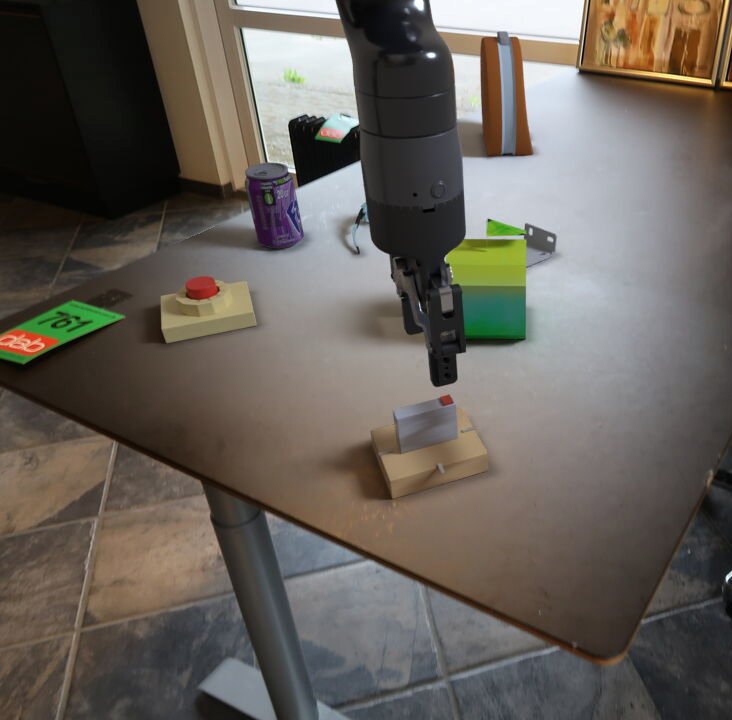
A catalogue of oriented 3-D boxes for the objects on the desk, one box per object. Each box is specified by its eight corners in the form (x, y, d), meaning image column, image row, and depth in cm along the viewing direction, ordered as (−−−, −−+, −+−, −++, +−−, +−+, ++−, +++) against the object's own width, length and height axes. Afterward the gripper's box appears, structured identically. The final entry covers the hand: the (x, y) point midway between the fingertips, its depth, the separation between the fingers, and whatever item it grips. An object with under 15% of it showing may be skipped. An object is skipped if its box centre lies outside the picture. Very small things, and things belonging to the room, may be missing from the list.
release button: (189, 303, 91) (185, 291, 90) (188, 290, 93) (184, 279, 92) (219, 298, 92) (215, 286, 91) (217, 285, 94) (213, 273, 93)
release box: (166, 343, 89) (156, 317, 87) (165, 309, 96) (156, 284, 94) (257, 325, 93) (250, 299, 91) (249, 294, 100) (243, 269, 97)
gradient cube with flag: (525, 347, 90) (526, 240, 81) (448, 346, 90) (441, 239, 81) (525, 303, 99) (526, 203, 90) (455, 303, 99) (449, 202, 90)
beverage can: (290, 254, 110) (275, 180, 103) (250, 248, 111) (232, 175, 104) (312, 235, 116) (299, 163, 109) (273, 229, 117) (258, 159, 110)
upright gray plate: (401, 453, 70) (396, 417, 67) (397, 443, 71) (392, 407, 68) (458, 438, 72) (456, 402, 69) (453, 428, 73) (450, 392, 70)
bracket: (482, 262, 109) (482, 242, 107) (525, 241, 115) (525, 222, 113) (514, 276, 105) (514, 256, 103) (556, 254, 112) (557, 234, 110)
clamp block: (394, 507, 68) (391, 488, 66) (369, 441, 75) (366, 422, 74) (493, 477, 71) (492, 458, 70) (460, 417, 79) (459, 399, 77)
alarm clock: (536, 160, 146) (538, 43, 133) (489, 162, 145) (486, 44, 132) (524, 127, 164) (524, 21, 151) (481, 128, 163) (478, 21, 149)
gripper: (346, 158, 58) (370, 325, 67) (388, 227, 47) (410, 414, 56) (434, 147, 60) (446, 309, 69) (493, 211, 50) (497, 391, 59)
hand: (430, 356), depth 63 cm, fingers open, 8 cm apart
